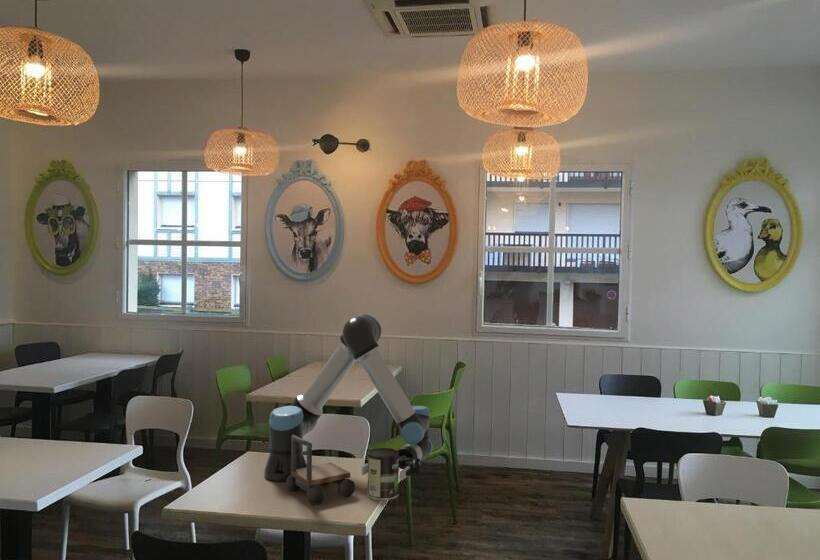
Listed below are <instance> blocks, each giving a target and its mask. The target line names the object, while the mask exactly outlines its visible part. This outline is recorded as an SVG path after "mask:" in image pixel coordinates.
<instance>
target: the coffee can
mask: <svg viewBox="0 0 820 560" xmlns="http://www.w3.org/2000/svg"><path fill="white" fill-rule="evenodd" d="M397 450H398V449H395V448H391V447H389V448H388V447H378V448H377V447H376V448H373V449H370V450H368V451H367V459H368V473H367V497H368V498H369V499H371V500H375V501H391V500H394V499H396V498H398V497H399V495H400V494H399V487H400V486H399V485H400V484H399V481H400V480H399V476H400V471H399V470H400V468H399V451H397Z"/></svg>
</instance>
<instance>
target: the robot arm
mask: <svg viewBox="0 0 820 560" xmlns="http://www.w3.org/2000/svg"><path fill="white" fill-rule="evenodd" d="M381 336H382V325H381V324H380V322H379V320H378V319H377V318H376V317H375V316H372V315H370V314H360V315H358V316H355V317H352V318H350V319H349V320H347V321H346V322H345V324H344V325H343V329H342V334H341V336H339V345H338V346H337V348H336V349H335V351H334V352H333V354H332V355H331V356H330V358H329V359H328V360H327V361H326V363H325V365H323V367H322V368H321V370H320V371H319V372H318V374H317V375H316V376H315V378H313V381H312V382H311V383H310V385H309V386H308V387H307V389H306V390H305V392H304V393H301V394H298V395H297V396H296V397H295V398H294V400H293V401H292V403H291V404H290V405H284V406H281V407H277V408H274V409H273V410H272V411H271V412H270V414H269V421H268V424H269V454H268V457H267V460H266V464H265V467H264V475H263V476H264V477H265V479H267V480H270V481H275V482H286V480H287V478H288V476H289V475H290V474H291V436H292V435H295V436H297V437H299V438H301V439H303V440H304V438H303V437H304V436H306V435H308V433H310V432H311V431H312V430H314V428H315V427H316V425H317V423H318V420H319V419H320V418H321V416H322V415H323V413H324V411H323V407H324V405H325V404H326V402H327V401H328V400H329V399H330V398H331V396H332V395H333V393H334V392H335V390H336V389H337V388H338V386H339V385H340V384H341V383H342V381H343V380H344V378H345V377H346V375H347V374H348V373H349V372H350V370H351V369H352V367H353V366H354V364H355V363H356V362H359V363H360V364H361V366H362V368H363V370H364V371H365V373H366V374H367V376H368V378H369V379H370V381H371V382H372V384H373V386H374V388H375V389H376V391H377V393H378V394H379V396H380V398H381V400H382V401H383V402H384V404H385V406H386V407H387V410H388V411H389V412H390V414H391V415H392V418H393V419H394V421H395V422H396V424H397V425H398V427H399V430H400V431H401V433H400V434H401V438H402V440H403V441H404V443H406V444H405V445H403V446H402V447H400V448H398V449H396V450H397V451H399V469H401V470H400V471H399V481H403V480H405V479H406V478H407V477H410V476H412V475H414V474H415V475H416V476H420V474H421V461H423V460H425V459H426V458H428V457H429V455H430V454H431V453H432V452H433V449H434V444H433V442H432V440H431V439H430V409H429V407H427V406H426V405H425V406H424V405H413V406H412V404H411V402H410V400H409V399H408V397H407V395H406V393H405V392H404V390H403V388H402V387H401V385H400V384H399V383H398V381H397V379H396V377H395V376H394V374H393V372H392V371H391V369H390V366H388V364H387V363H386V361H385V358H384V357H383V356H382V354H381V352H380V351H379V350H380V345H379V344H378V341H379V340H380V338H381ZM303 446H304V445H303V444H301V443H299V442H297V441H296V469H301V468H306V467H307V460H306V458H305V455H304V452H303V451H304V450H303V449H304V448H303ZM366 474H368V458H365V459H364V465H362V466H361V476H365V475H366Z"/></svg>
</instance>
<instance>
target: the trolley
mask: <svg viewBox="0 0 820 560" xmlns="http://www.w3.org/2000/svg"><path fill="white" fill-rule="evenodd" d="M296 441H297V442H299V443H301V444H303V446H305V447H306V464H307V467H306V468H301V469H296ZM312 460H313V443H312V442H310V441H308V440H305V439H304V438H303V439H301V438H299V437H297V436H295V435H292V436H291V474H290V475H289V476H288V478H287V480H286V481H285V485H286V488H288V489H289V490H290V491H292V492H297V491H300V489H302V490H304V491H305V492H306V499H307V501H308V502H309V503H311V504H312V505H316V504H317V505H319V504H322V502H323V501H324V499H325V497H326V491H325V488H324V487H322V486H321V485H323V486H326V485H328V484H330V483H333V484H334V485H337V492H338V494H339V496H342V497H344V498H346V497H347V498H349V497H351V496H352V495H353V494H354V492H355V490H356V483H355V482H354V480H352V479H350V478H351V471H349V470H346V469H345V468H342V467H341V466H338V465H336V464H335V463H332V462H327V463H323V464H318V465H313V463H312V462H313V461H312ZM325 484H326V485H325Z"/></svg>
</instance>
